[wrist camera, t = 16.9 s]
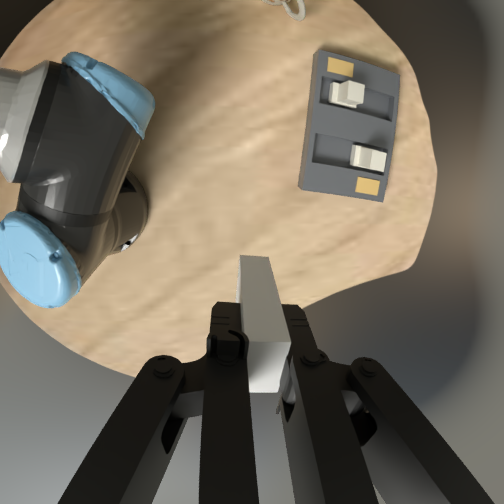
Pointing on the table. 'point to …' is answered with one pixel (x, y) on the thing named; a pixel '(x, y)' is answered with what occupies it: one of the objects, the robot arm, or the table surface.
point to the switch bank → (348, 128)
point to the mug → (302, 11)
